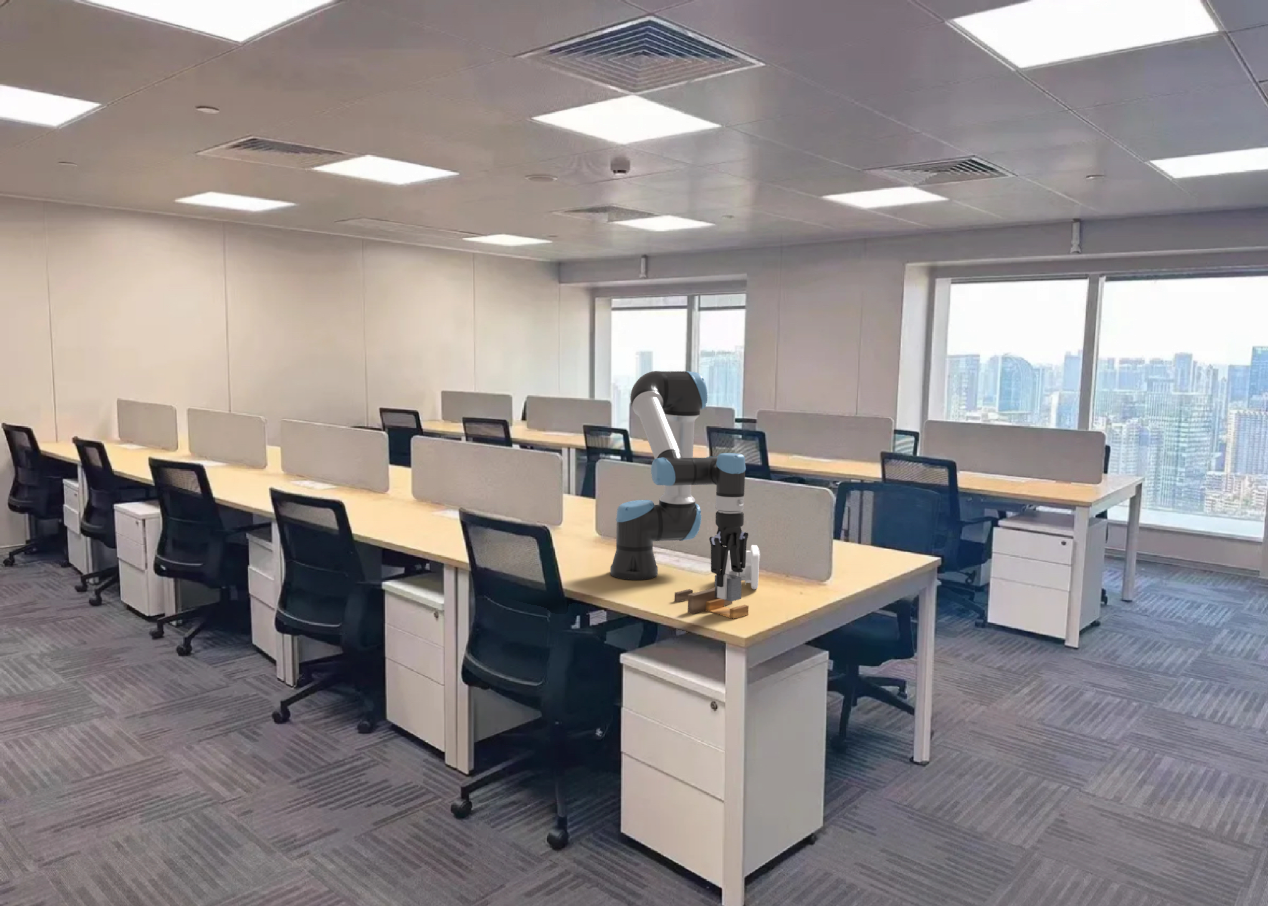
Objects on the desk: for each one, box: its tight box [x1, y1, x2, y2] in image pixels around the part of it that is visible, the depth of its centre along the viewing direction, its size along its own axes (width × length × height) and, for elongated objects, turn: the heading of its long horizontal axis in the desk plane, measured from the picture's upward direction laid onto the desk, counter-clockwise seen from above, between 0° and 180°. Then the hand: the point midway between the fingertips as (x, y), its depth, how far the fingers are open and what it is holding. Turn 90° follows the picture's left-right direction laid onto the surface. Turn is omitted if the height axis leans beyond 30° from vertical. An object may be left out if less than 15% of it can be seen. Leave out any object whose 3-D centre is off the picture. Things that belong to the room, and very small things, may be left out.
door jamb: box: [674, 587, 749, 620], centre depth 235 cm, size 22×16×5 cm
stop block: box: [714, 573, 743, 602], centre depth 230 cm, size 6×4×6 cm, turn 43°
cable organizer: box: [725, 544, 761, 590], centre depth 260 cm, size 15×11×12 cm
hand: (727, 596), depth 230 cm, fingers closed on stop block, 4 cm apart
